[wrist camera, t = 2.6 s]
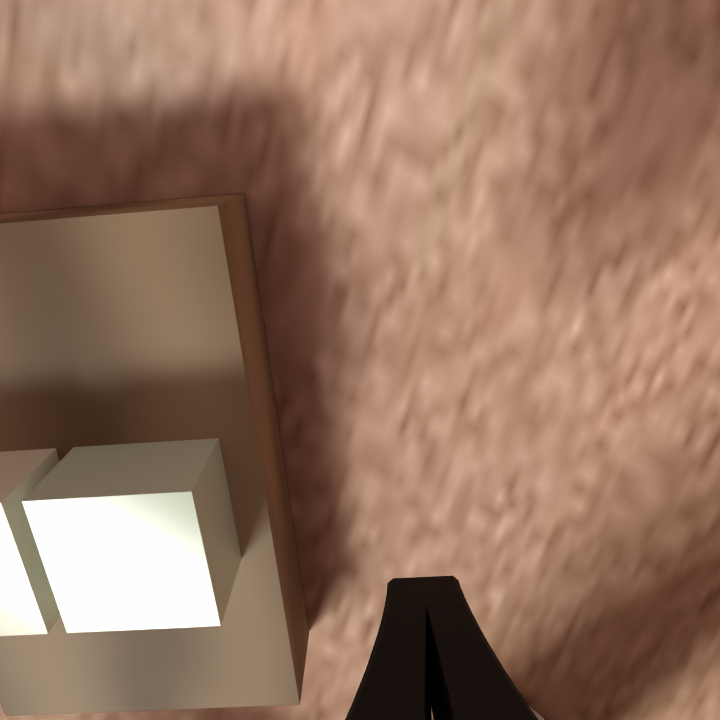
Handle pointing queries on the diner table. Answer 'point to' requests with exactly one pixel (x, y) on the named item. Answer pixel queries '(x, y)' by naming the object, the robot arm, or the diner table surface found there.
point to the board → (152, 436)
